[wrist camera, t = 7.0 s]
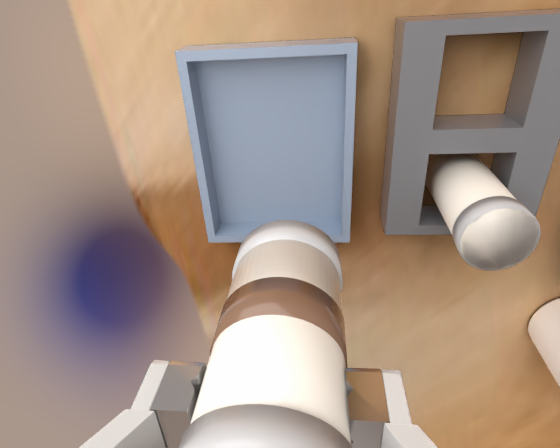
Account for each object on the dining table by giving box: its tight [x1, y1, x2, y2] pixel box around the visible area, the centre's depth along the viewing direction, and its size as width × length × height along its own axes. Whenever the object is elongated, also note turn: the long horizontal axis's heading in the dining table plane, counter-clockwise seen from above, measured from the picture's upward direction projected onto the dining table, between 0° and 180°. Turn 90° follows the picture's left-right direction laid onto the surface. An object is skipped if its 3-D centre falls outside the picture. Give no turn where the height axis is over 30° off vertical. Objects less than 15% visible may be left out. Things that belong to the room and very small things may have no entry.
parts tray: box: [175, 37, 358, 242], centre depth 29 cm, size 14×11×2 cm
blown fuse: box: [179, 220, 352, 448], centre depth 12 cm, size 4×4×9 cm
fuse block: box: [380, 9, 560, 271], centre depth 24 cm, size 14×10×9 cm
